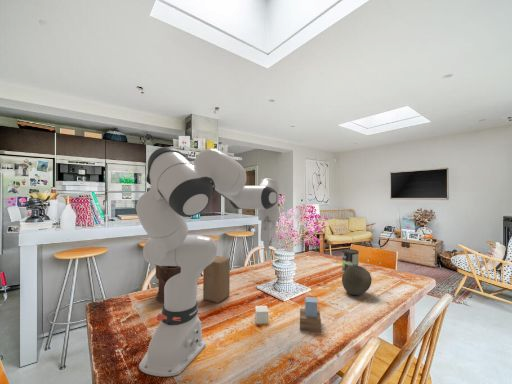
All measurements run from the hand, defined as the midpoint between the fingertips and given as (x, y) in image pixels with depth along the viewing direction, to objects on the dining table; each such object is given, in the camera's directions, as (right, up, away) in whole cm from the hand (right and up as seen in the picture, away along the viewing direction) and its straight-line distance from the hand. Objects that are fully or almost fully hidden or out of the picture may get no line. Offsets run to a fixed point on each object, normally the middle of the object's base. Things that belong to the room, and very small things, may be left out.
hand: (268, 248), depth 104 cm
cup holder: (-48, -30, +18) cm, 59 cm away
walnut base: (+17, -31, -6) cm, 35 cm away
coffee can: (+59, -30, +59) cm, 89 cm away
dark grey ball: (+48, -30, +24) cm, 62 cm away
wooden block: (-25, -30, +19) cm, 43 cm away
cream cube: (-3, -30, -2) cm, 30 cm away
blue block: (+17, -26, -6) cm, 31 cm away
